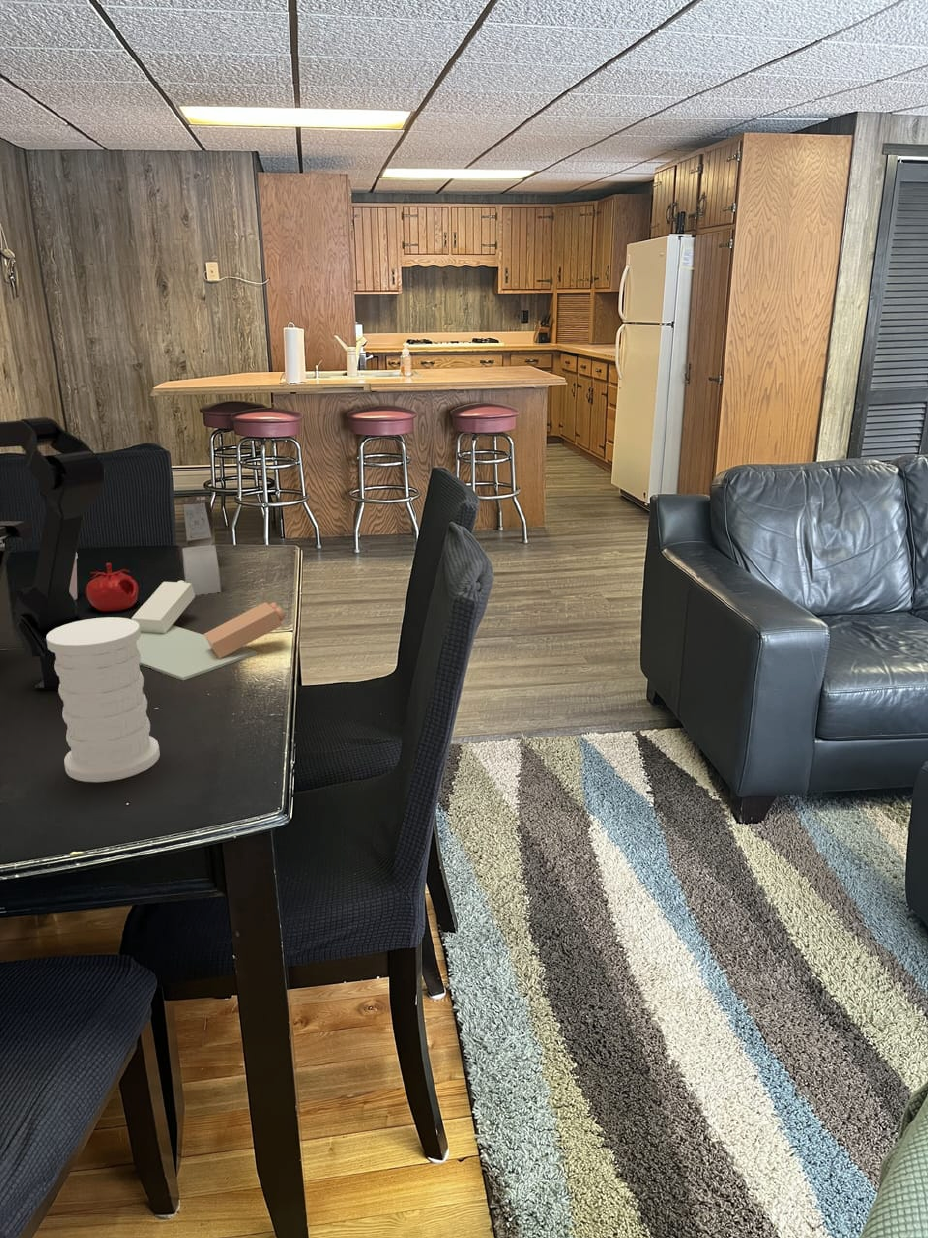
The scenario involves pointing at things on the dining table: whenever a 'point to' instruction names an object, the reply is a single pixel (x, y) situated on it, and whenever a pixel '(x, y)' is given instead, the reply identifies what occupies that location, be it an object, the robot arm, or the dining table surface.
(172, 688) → the dining table surface
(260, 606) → the orange rectangular block
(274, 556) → the dining table surface
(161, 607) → the tile one
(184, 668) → the mat
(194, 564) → the pale grey upright block
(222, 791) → the dining table surface
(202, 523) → the coffee box
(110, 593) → the red tomato
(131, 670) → the decorative container
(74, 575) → the smoothie
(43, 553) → the robot arm
